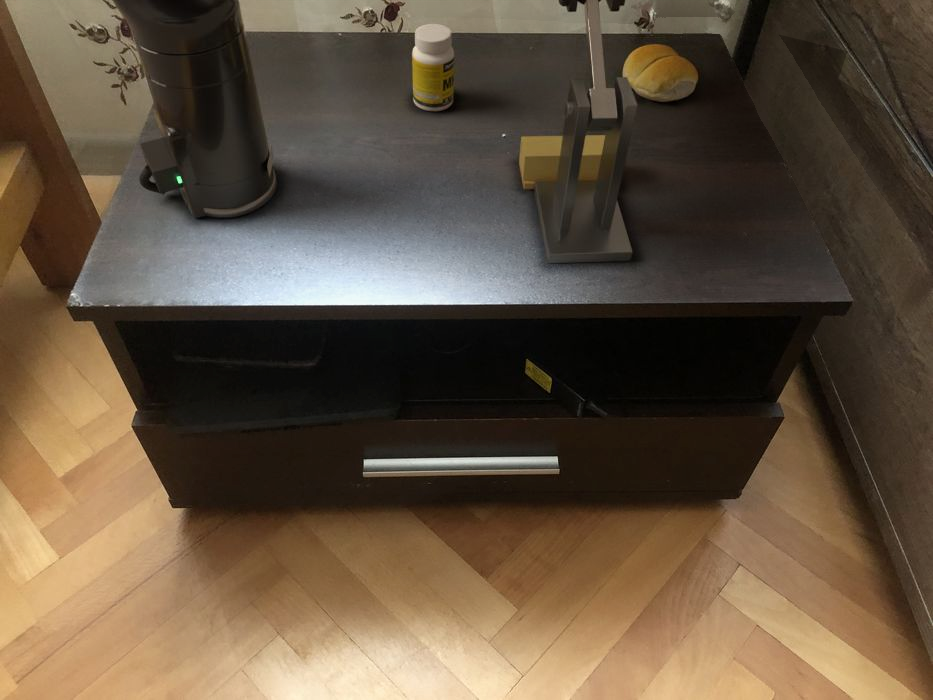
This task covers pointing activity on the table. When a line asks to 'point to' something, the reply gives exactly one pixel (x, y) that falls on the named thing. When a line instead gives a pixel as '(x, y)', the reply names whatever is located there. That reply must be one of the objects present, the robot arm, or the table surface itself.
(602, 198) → the stand
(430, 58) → the supplement bottle
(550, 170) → the butter
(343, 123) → the table surface
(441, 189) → the table surface
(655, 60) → the bread roll
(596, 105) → the knife lever
